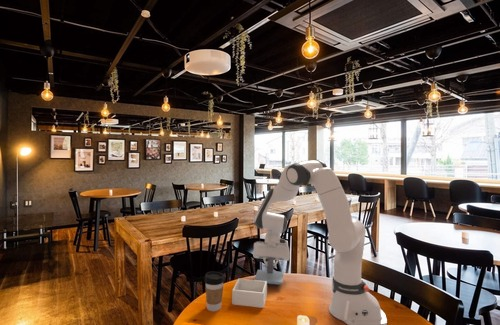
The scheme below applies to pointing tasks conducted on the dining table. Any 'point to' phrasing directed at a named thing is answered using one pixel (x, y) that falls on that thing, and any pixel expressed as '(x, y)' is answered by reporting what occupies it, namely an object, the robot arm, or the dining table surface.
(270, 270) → the lid
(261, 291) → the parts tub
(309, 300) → the dining table surface
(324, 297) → the dining table surface
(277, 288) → the dining table surface
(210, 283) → the coffee cup
